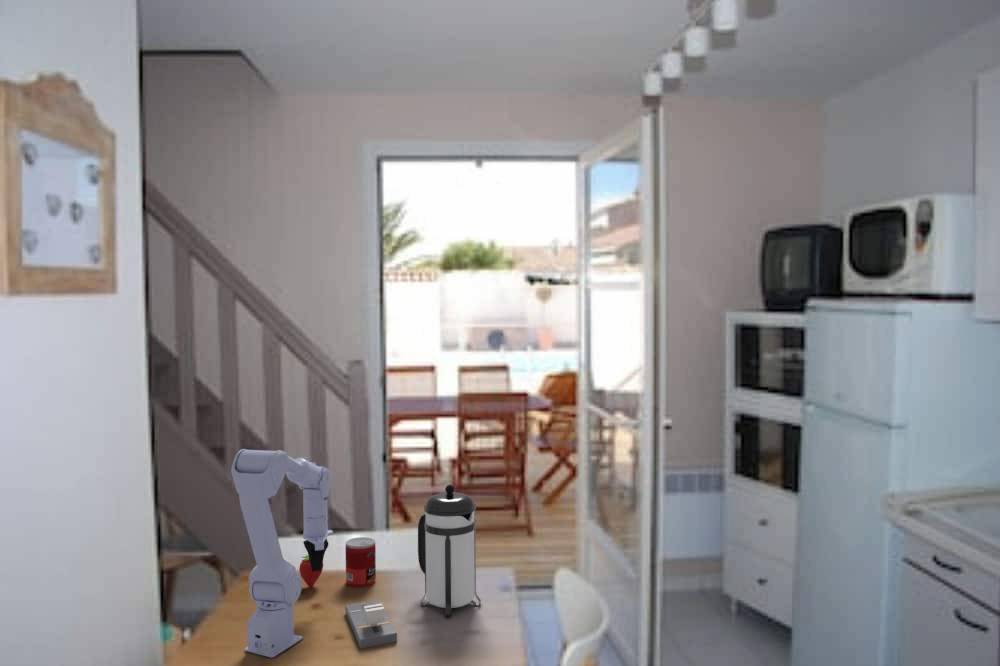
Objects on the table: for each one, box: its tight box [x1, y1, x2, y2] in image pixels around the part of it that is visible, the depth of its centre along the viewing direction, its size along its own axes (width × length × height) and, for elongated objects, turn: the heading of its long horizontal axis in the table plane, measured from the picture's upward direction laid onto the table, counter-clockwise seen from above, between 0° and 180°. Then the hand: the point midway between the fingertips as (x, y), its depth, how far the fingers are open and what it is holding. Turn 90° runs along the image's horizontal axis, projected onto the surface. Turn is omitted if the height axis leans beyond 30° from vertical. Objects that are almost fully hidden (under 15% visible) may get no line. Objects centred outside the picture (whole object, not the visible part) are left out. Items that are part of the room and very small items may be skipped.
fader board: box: [345, 599, 398, 650], centre depth 156 cm, size 19×8×2 cm, turn 22°
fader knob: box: [364, 603, 385, 627], centre depth 152 cm, size 3×4×4 cm
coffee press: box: [417, 484, 482, 618], centre depth 168 cm, size 17×16×30 cm
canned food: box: [345, 536, 377, 588], centre depth 182 cm, size 8×8×11 cm
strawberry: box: [299, 554, 324, 588], centre depth 179 cm, size 6×8×10 cm
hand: (316, 570), depth 166 cm, fingers closed
